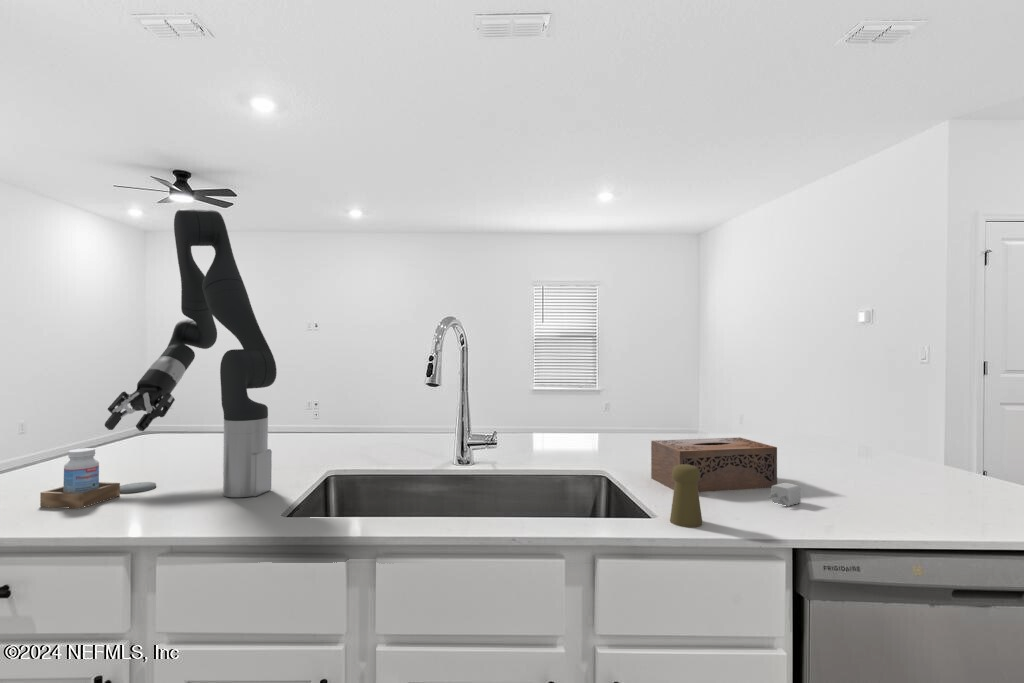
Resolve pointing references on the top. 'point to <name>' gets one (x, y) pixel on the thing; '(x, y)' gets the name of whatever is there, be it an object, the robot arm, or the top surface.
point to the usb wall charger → (785, 494)
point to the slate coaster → (136, 487)
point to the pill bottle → (81, 471)
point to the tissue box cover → (717, 463)
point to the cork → (686, 497)
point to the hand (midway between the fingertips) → (123, 428)
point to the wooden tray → (79, 496)
